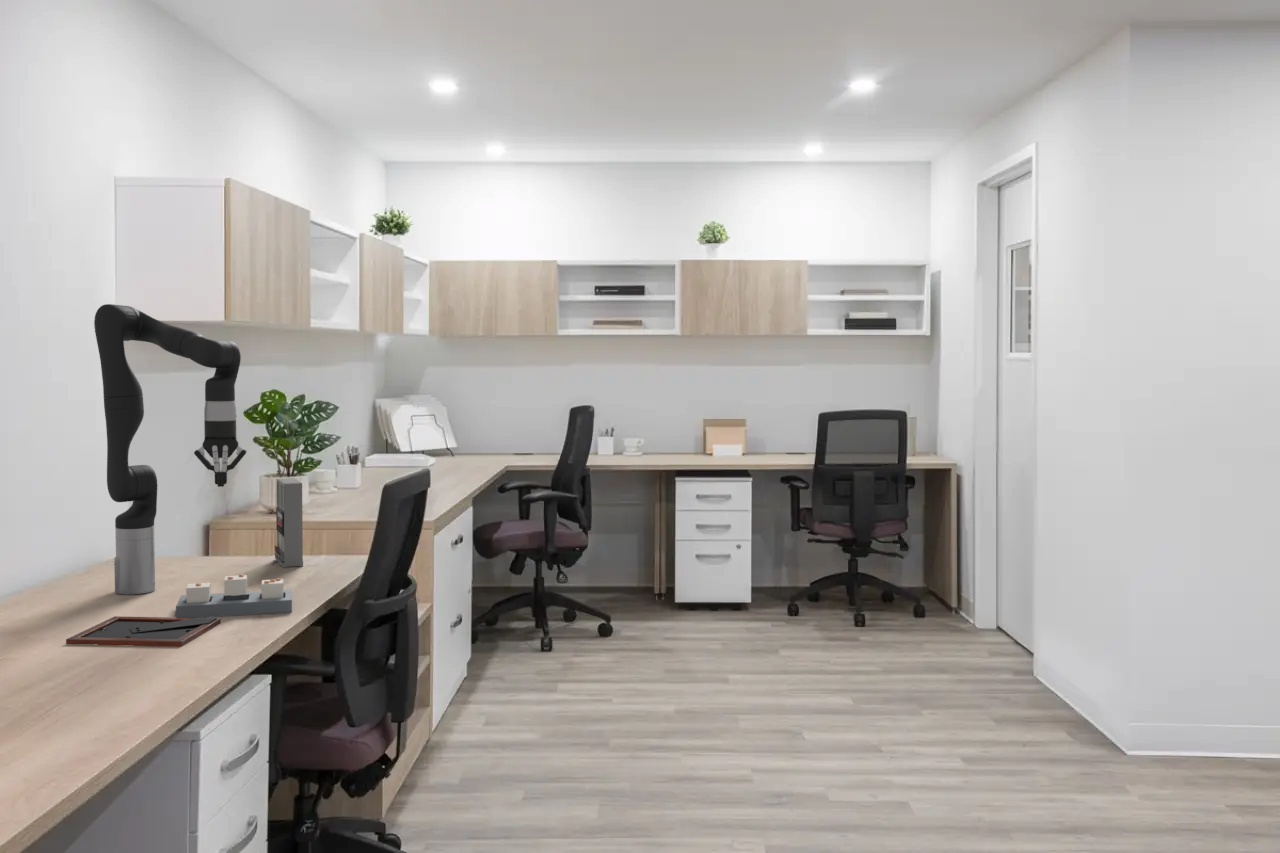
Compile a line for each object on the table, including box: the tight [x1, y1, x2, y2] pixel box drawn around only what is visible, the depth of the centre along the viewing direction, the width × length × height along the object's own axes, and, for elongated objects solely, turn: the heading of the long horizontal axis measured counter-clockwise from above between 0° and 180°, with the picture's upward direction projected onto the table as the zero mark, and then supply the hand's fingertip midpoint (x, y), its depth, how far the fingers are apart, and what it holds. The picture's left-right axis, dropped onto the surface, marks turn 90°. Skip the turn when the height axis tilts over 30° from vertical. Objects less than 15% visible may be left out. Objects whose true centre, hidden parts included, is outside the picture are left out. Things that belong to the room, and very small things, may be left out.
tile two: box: [223, 573, 248, 596], centre depth 256 cm, size 5×5×5 cm
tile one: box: [185, 582, 211, 603], centre depth 253 cm, size 5×5×5 cm
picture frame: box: [65, 615, 222, 648], centre depth 234 cm, size 20×2×25 cm
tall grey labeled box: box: [274, 477, 304, 569], centre depth 314 cm, size 14×6×25 cm, turn 28°
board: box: [175, 589, 293, 618], centre depth 256 cm, size 26×12×3 cm, turn 108°
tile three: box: [261, 577, 284, 599], centre depth 259 cm, size 5×5×5 cm
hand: (221, 486), depth 266 cm, fingers closed
